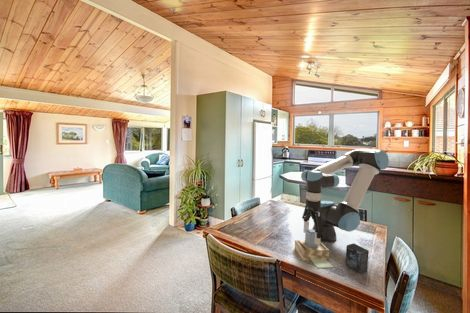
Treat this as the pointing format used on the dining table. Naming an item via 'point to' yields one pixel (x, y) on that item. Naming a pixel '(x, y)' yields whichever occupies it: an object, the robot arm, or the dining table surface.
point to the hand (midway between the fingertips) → (311, 237)
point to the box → (357, 258)
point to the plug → (310, 238)
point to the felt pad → (321, 263)
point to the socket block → (311, 251)
